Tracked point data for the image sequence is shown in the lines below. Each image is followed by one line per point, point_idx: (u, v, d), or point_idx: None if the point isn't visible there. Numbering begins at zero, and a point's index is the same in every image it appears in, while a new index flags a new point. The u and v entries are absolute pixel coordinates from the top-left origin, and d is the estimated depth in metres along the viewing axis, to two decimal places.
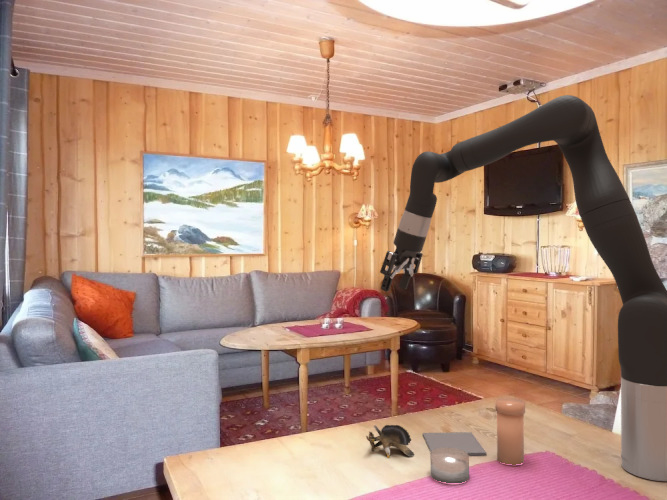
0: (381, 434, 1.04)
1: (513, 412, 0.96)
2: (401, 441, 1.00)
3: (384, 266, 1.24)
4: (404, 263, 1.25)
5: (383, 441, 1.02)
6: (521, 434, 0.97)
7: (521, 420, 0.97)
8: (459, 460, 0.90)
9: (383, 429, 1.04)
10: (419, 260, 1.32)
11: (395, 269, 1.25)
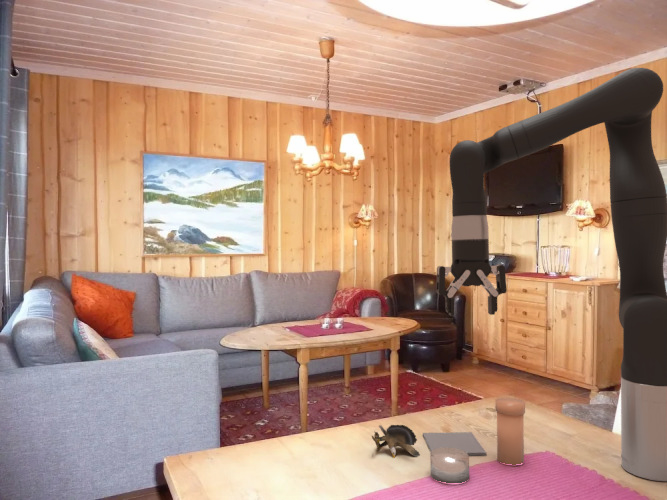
0: (386, 434, 1.04)
1: (513, 412, 0.96)
2: (407, 441, 1.00)
3: (439, 284, 1.06)
4: (463, 277, 1.03)
5: (389, 441, 1.02)
6: (521, 434, 0.97)
7: (521, 420, 0.97)
8: (459, 460, 0.90)
9: (388, 429, 1.04)
10: (502, 274, 1.04)
11: (452, 286, 1.04)
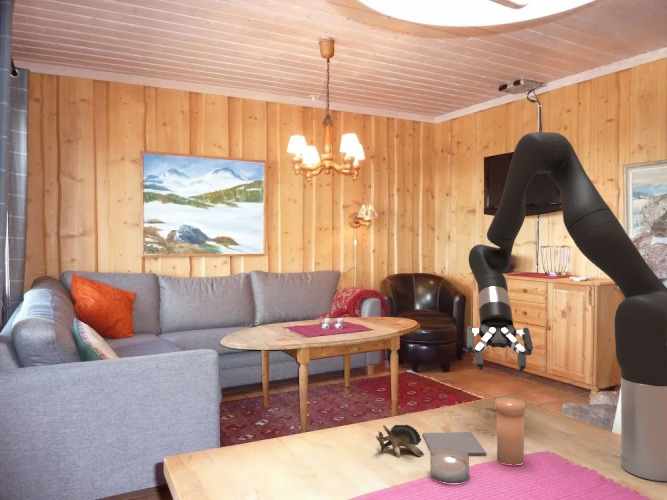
0: (390, 434, 1.04)
1: (513, 412, 0.96)
2: (411, 441, 1.01)
3: None
4: (489, 333, 1.15)
5: (393, 441, 1.03)
6: (521, 434, 0.97)
7: (521, 420, 0.97)
8: (459, 460, 0.90)
9: (392, 429, 1.04)
10: (526, 334, 1.14)
11: None
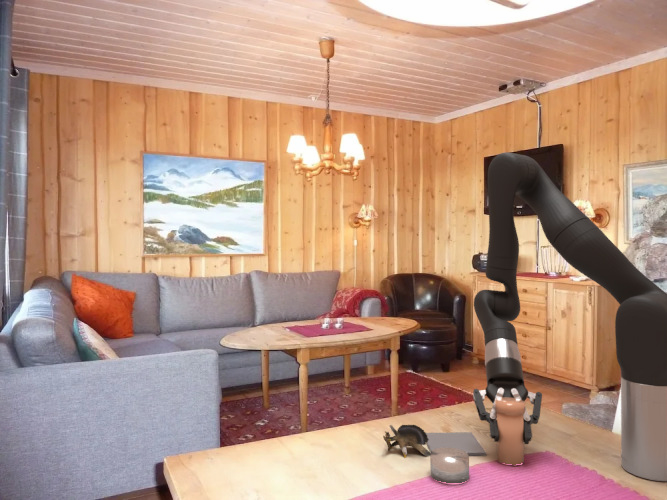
0: (397, 434, 1.04)
1: (513, 412, 0.96)
2: (418, 441, 1.01)
3: (480, 411, 1.03)
4: (499, 395, 1.02)
5: (400, 441, 1.03)
6: (521, 434, 0.97)
7: (521, 420, 0.97)
8: (459, 460, 0.90)
9: (399, 429, 1.04)
10: (537, 400, 1.01)
11: None
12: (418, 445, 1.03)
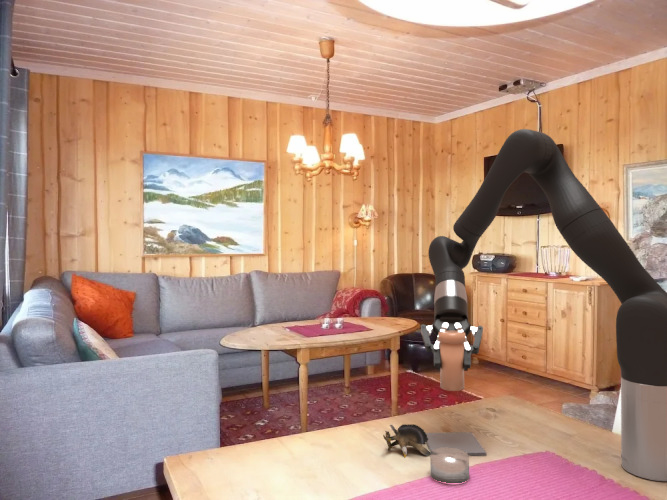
0: (398, 433, 1.04)
1: (453, 340, 1.04)
2: (418, 440, 1.01)
3: None
4: (443, 329, 1.10)
5: (400, 441, 1.03)
6: (461, 361, 1.05)
7: (461, 348, 1.05)
8: (459, 460, 0.90)
9: (400, 428, 1.04)
10: (478, 333, 1.09)
11: (437, 339, 1.09)
12: (418, 445, 1.03)
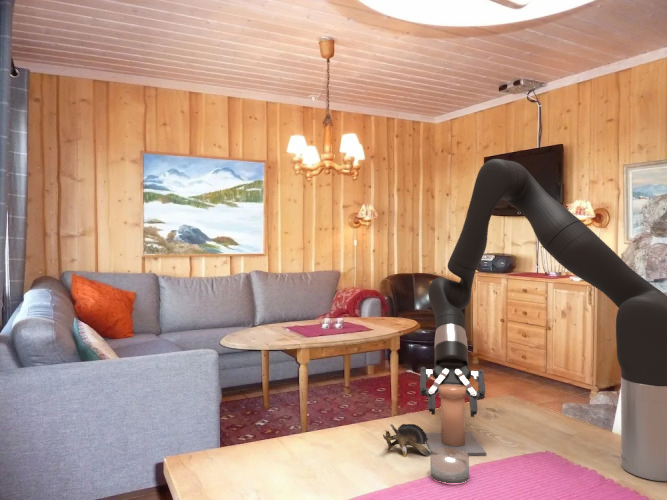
0: (398, 433, 1.04)
1: (454, 396, 1.04)
2: (418, 440, 1.01)
3: None
4: (443, 375, 1.10)
5: (400, 440, 1.03)
6: (462, 416, 1.05)
7: (462, 403, 1.05)
8: (459, 460, 0.90)
9: (400, 428, 1.04)
10: (480, 377, 1.09)
11: (433, 384, 1.10)
12: (418, 444, 1.03)
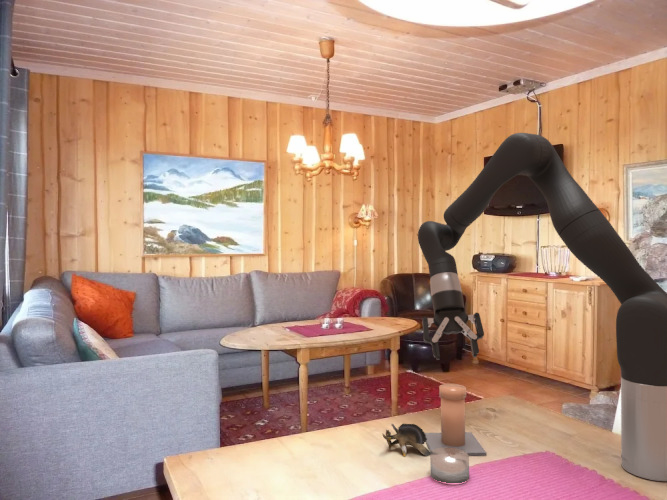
0: (398, 432, 1.05)
1: (454, 396, 1.04)
2: (417, 440, 1.01)
3: None
4: (444, 323, 1.20)
5: (400, 440, 1.03)
6: (462, 417, 1.05)
7: (462, 404, 1.05)
8: (459, 460, 0.90)
9: (400, 428, 1.04)
10: (477, 320, 1.20)
11: (436, 332, 1.20)
12: (418, 444, 1.03)
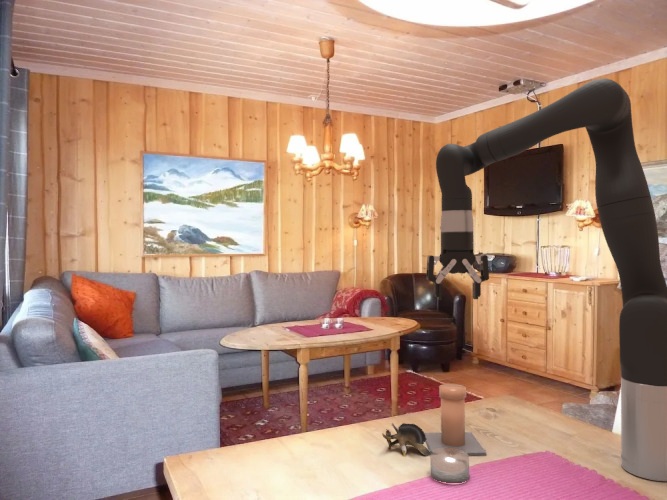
0: (398, 432, 1.05)
1: (454, 396, 1.04)
2: (417, 440, 1.01)
3: None
4: (450, 265, 1.16)
5: (400, 440, 1.03)
6: (462, 417, 1.05)
7: (462, 404, 1.05)
8: (459, 460, 0.90)
9: (400, 427, 1.05)
10: (485, 263, 1.16)
11: (440, 273, 1.16)
12: (418, 444, 1.03)
